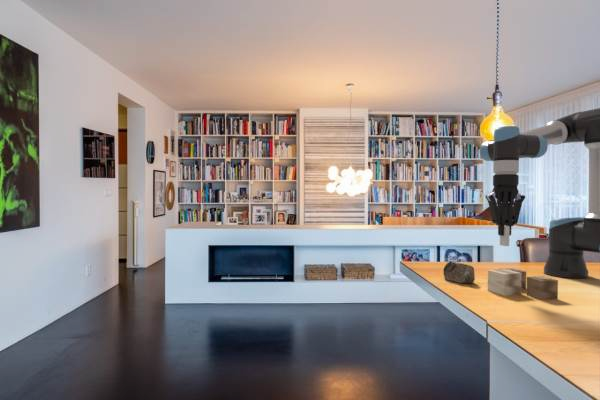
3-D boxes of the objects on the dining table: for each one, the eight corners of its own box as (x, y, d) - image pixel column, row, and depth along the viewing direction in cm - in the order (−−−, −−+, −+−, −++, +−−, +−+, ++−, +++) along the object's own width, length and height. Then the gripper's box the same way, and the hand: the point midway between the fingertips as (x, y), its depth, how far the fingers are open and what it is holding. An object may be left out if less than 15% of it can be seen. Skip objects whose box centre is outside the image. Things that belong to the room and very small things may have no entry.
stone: (467, 284, 143) (468, 265, 143) (439, 279, 153) (440, 260, 153) (479, 283, 147) (480, 264, 147) (451, 277, 157) (451, 259, 157)
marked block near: (514, 284, 144) (514, 267, 144) (526, 288, 138) (526, 270, 138) (498, 285, 143) (499, 268, 143) (510, 289, 137) (510, 271, 137)
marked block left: (543, 294, 130) (543, 275, 130) (557, 299, 124) (557, 279, 124) (526, 295, 130) (526, 276, 129) (540, 300, 124) (540, 280, 123)
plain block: (504, 289, 137) (504, 269, 137) (521, 294, 131) (521, 273, 130) (487, 290, 135) (487, 270, 135) (504, 296, 128) (504, 274, 128)
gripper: (516, 174, 137) (514, 244, 137) (480, 174, 135) (479, 244, 135) (531, 173, 129) (530, 246, 130) (494, 173, 128) (493, 247, 128)
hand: (504, 245), depth 132 cm, fingers closed
